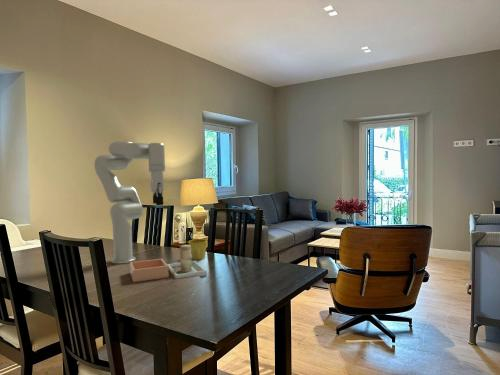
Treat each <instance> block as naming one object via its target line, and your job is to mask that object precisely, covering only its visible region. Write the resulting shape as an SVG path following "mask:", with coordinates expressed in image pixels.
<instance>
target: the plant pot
mask: <svg viewBox="0 0 500 375" xmlns="http://www.w3.org/2000/svg"><path fill="white" fill-rule="evenodd" d="M188 245H191V259H192V260H193V261H199V260H204V259H205V258H206V251H207V248H208V240H207V239H206V238H205V239H204V238H203V239H201V238H198V239H197V238H196V239H191V240H188Z"/></svg>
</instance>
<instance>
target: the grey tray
mask: <svg viewBox="0 0 500 375" xmlns="http://www.w3.org/2000/svg"><path fill="white" fill-rule="evenodd" d="M166 264H167V265H168V271H170V273H171V274H172V276H173V277H174V278H175V279H182V278H189V277H195V276H198V277H199V278H203V277H204V278H205V277H207V273H208V272H207V269H205V268H204V267H203V266H202V265H200V263H198V261H197V260H191V269H192V270H191V271H192V272H191V271H190V272H182V273H177V272H176V270H175V269H174V268H176V267H181V262H174V263H166Z"/></svg>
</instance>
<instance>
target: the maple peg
mask: <svg viewBox="0 0 500 375" xmlns="http://www.w3.org/2000/svg"><path fill="white" fill-rule="evenodd" d="M179 250H180V251H179V252H180V263H181V266H180V272H181V273H190V272H191V271H193V270H192V269H191V261H192V254H191V245H189V244H183V245H180V246H179Z"/></svg>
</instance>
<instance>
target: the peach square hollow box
mask: <svg viewBox="0 0 500 375" xmlns="http://www.w3.org/2000/svg"><path fill="white" fill-rule="evenodd" d="M167 264H168V263H167V262H166V261H165V260H164V259H163V258H156V259H147V260H139V261H138V260H137V261H132V262H129V274H130V277H131V279H132V283H135V282H142V281H143V282H144V281H150V280H159V279H165V278H169V276H170V275H169V269H168V265H167Z"/></svg>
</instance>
